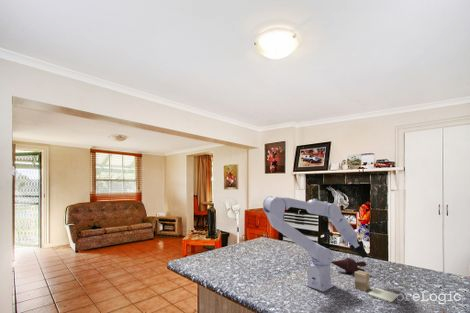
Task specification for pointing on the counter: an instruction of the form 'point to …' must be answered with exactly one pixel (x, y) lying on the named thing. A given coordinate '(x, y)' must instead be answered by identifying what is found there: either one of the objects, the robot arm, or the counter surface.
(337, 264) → the icecream
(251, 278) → the counter surface
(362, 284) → the block
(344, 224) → the robot arm
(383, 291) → the coaster
